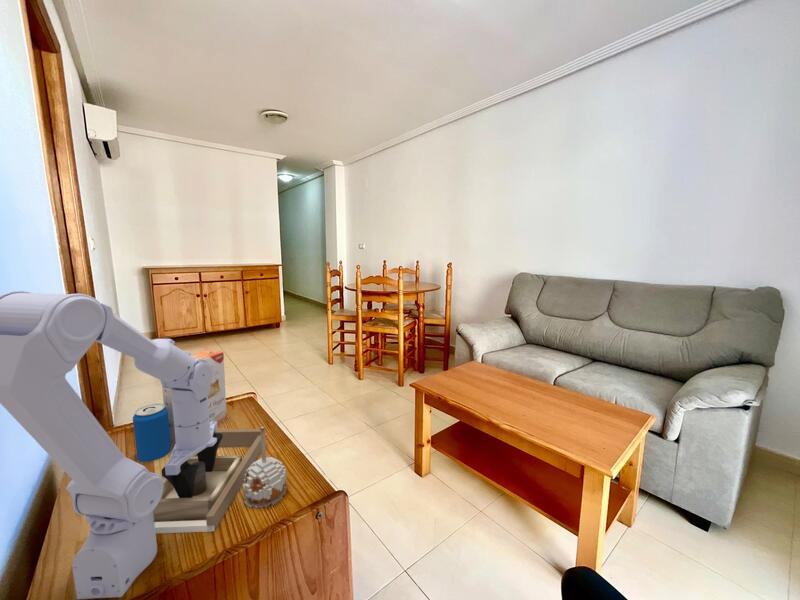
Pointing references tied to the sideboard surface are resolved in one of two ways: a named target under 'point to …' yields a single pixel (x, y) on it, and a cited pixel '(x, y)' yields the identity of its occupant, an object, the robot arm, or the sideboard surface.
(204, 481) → the beige shallow open box
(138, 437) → the beverage can
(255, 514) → the sideboard surface
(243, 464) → the bay
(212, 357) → the cracker box
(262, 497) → the decorative ornament
